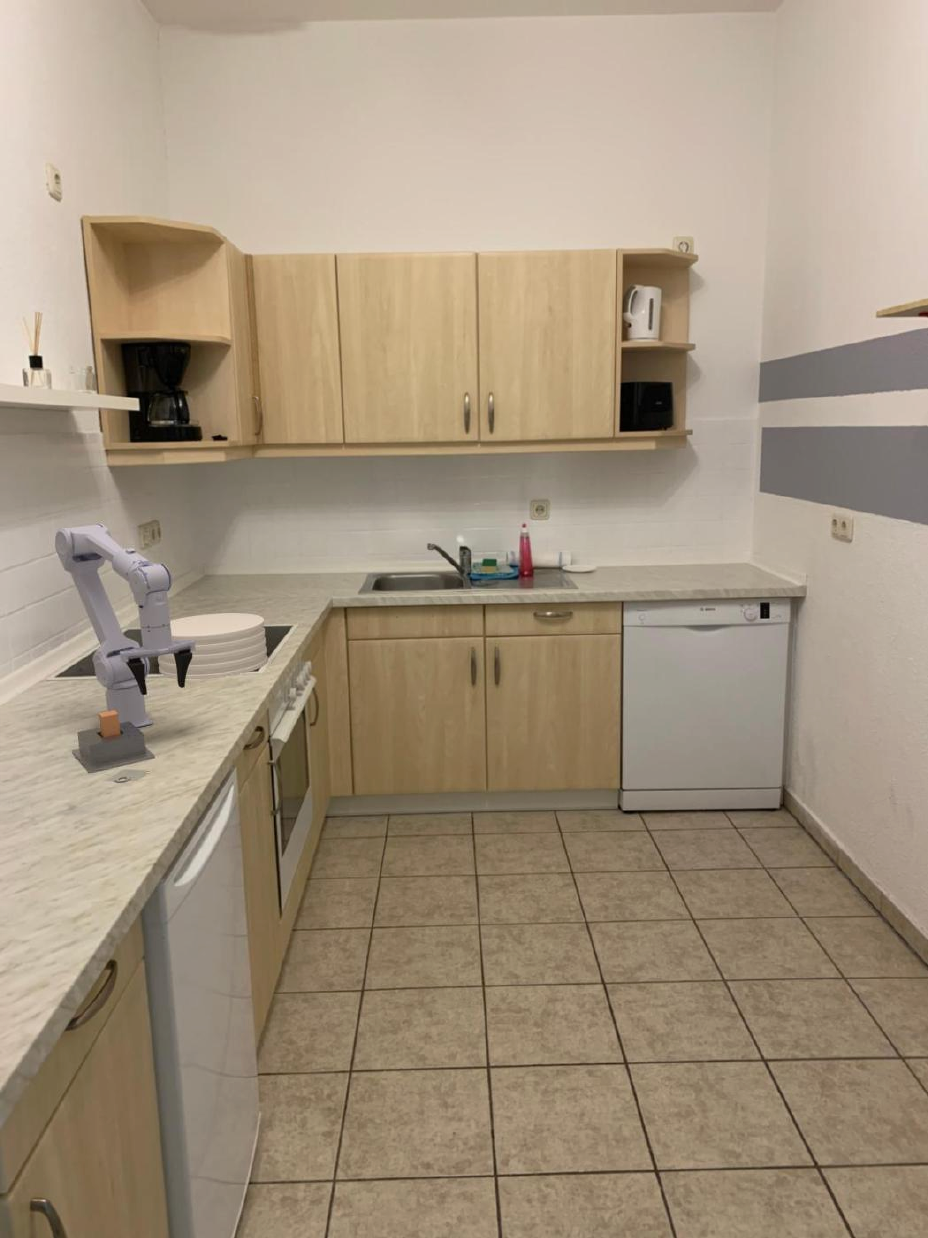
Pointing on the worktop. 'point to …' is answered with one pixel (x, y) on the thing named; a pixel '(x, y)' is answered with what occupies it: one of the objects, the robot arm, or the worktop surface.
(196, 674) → the plate stack
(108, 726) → the tan rectangular block
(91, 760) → the slotted block
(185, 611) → the worktop surface
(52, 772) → the worktop surface
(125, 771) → the mounting bracket
